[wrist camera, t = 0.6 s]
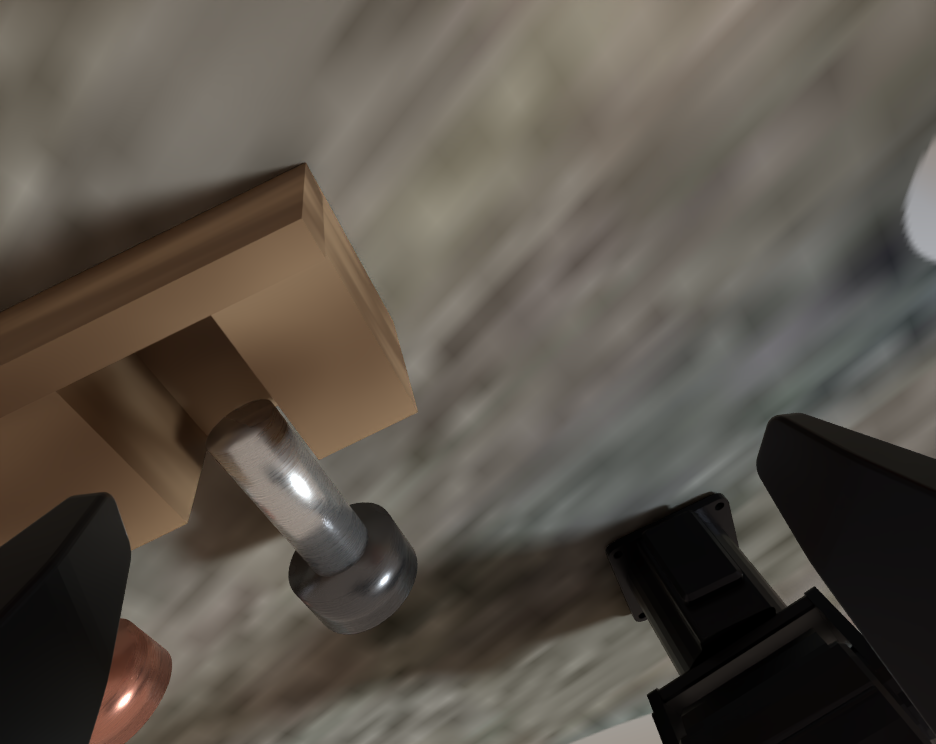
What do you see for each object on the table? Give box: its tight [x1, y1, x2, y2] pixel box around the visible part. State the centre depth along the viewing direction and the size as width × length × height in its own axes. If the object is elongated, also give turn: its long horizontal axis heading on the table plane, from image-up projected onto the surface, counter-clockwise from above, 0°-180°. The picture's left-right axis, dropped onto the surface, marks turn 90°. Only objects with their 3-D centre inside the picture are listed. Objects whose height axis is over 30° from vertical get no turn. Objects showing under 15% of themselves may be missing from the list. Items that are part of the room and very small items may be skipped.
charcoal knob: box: [206, 399, 417, 634], centre depth 19 cm, size 8×4×4 cm, turn 23°
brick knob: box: [89, 618, 172, 744], centre depth 20 cm, size 8×4×4 cm, turn 23°
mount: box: [0, 162, 418, 550], centre depth 17 cm, size 6×20×6 cm, turn 113°
